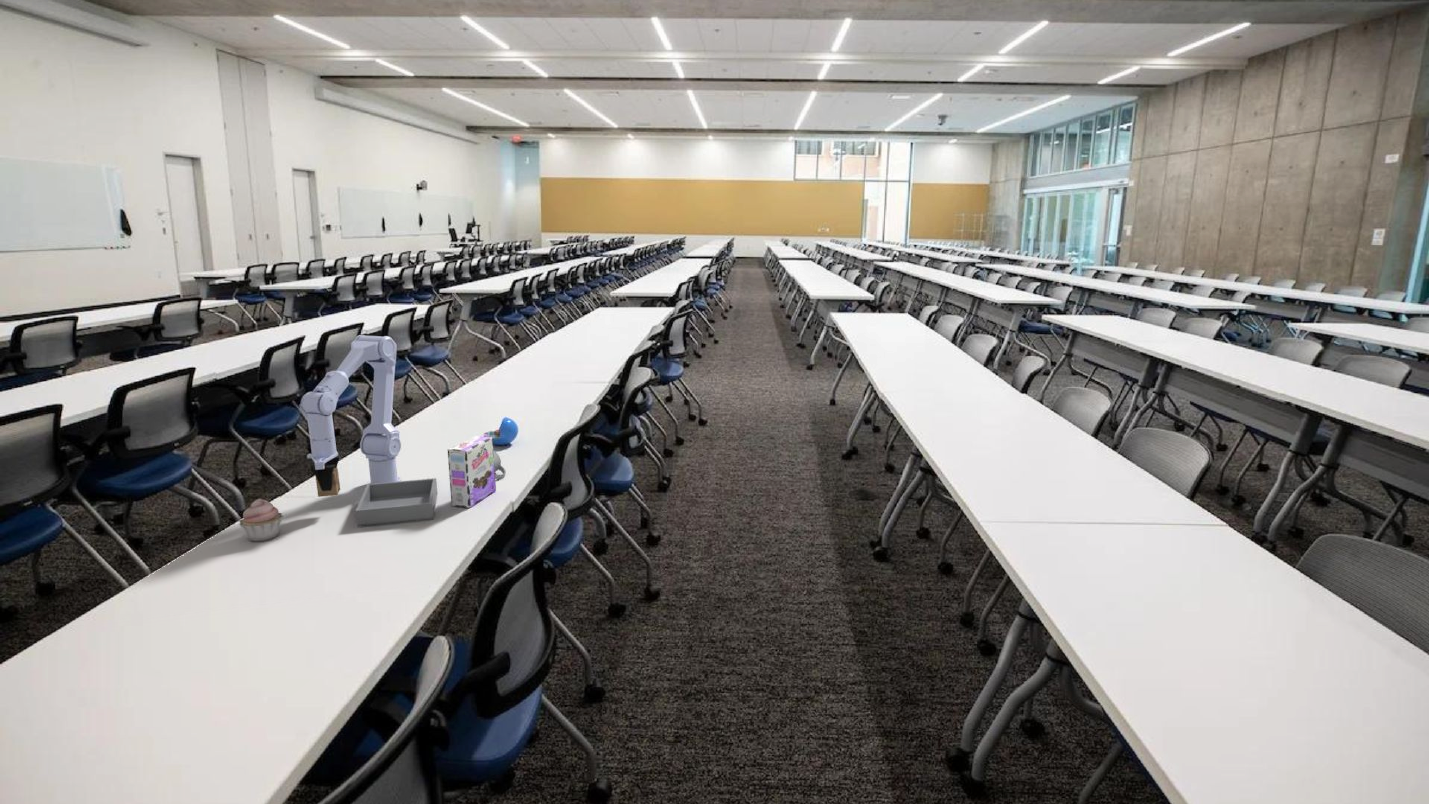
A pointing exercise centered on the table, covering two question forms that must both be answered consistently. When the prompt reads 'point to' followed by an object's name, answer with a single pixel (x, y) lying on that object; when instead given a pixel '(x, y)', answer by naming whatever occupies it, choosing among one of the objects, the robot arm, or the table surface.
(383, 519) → the grey bin
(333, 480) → the walnut block
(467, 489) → the candy box
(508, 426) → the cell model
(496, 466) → the ceramic mug
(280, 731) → the table surface
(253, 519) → the cupcake
